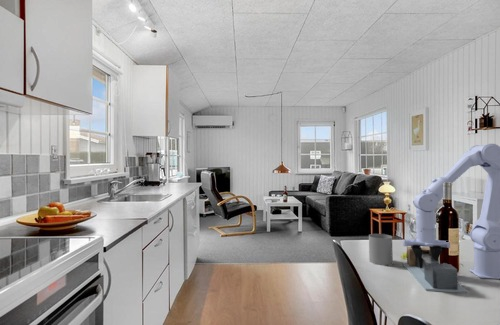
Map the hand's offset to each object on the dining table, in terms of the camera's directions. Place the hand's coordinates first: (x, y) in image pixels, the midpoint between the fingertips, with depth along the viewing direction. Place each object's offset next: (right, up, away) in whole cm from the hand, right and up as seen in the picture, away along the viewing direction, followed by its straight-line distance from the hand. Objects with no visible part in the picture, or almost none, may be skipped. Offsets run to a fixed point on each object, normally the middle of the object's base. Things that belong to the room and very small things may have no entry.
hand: (426, 267), depth 110 cm
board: (-1, -2, -4) cm, 5 cm away
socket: (+1, -2, +6) cm, 7 cm away
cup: (-11, -2, +13) cm, 17 cm away
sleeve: (-3, -2, -12) cm, 13 cm away
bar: (0, -1, -2) cm, 2 cm away
